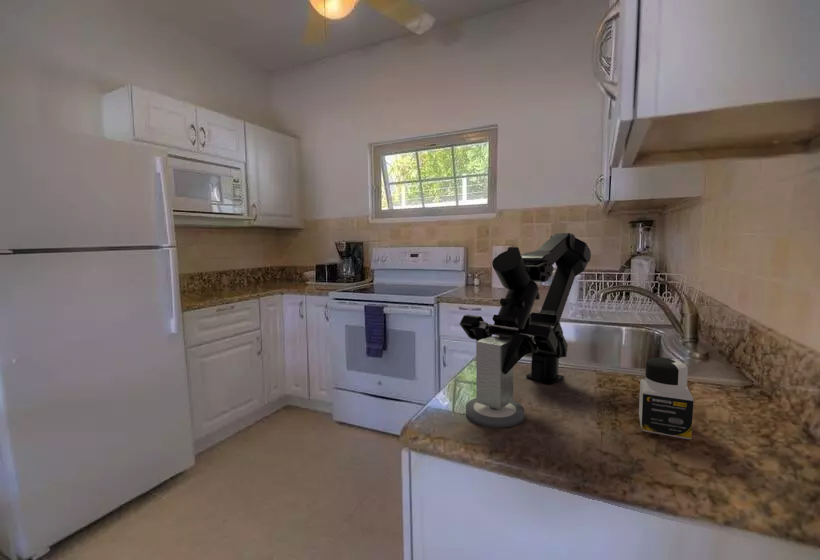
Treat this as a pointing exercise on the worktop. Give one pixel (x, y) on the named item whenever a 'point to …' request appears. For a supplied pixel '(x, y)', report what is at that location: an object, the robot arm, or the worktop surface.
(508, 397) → the block
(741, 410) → the worktop surface
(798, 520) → the worktop surface
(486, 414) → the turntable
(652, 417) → the medicine bottle
